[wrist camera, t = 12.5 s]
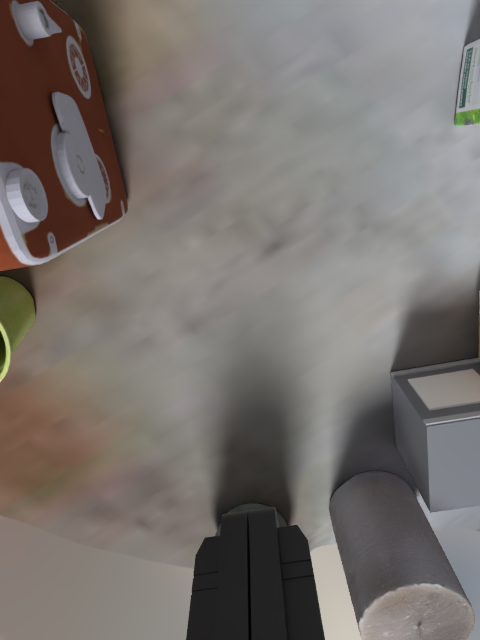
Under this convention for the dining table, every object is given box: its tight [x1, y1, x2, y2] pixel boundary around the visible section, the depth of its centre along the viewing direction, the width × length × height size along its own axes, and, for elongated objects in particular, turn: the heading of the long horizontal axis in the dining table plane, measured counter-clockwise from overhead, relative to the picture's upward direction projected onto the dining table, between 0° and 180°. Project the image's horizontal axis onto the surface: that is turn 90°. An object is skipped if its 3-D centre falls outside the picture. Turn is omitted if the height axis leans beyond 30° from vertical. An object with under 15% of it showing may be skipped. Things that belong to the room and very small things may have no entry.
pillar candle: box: [329, 471, 475, 640], centre depth 42 cm, size 10×10×15 cm
